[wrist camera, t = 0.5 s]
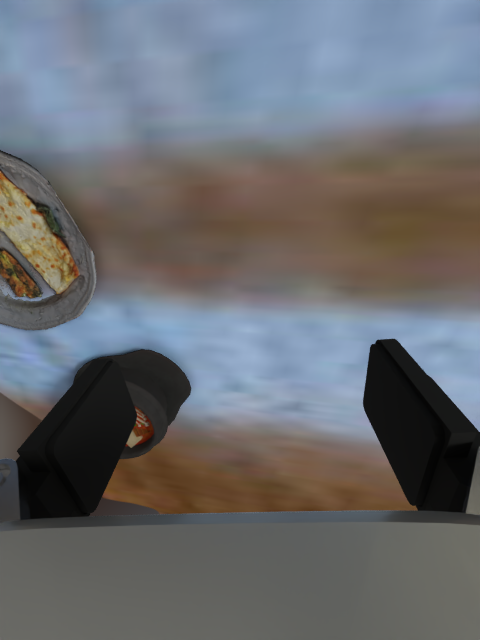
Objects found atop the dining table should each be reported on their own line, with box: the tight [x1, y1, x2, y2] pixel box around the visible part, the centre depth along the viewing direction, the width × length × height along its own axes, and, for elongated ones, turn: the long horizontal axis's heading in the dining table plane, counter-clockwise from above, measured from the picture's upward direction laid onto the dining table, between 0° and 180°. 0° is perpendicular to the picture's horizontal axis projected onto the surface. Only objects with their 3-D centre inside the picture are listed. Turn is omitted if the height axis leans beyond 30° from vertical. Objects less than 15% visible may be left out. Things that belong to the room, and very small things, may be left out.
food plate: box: [0, 150, 97, 330], centre depth 38 cm, size 25×23×4 cm
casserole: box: [73, 349, 191, 459], centre depth 48 cm, size 25×19×8 cm
